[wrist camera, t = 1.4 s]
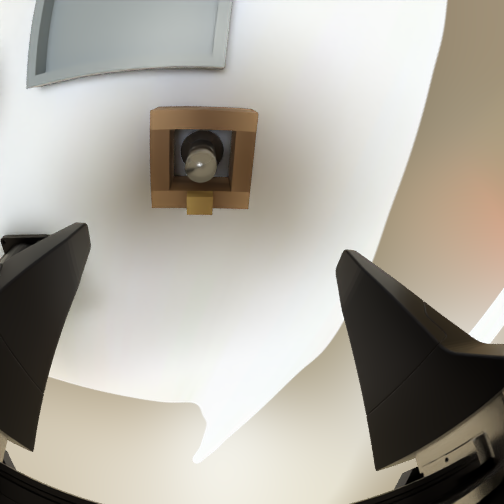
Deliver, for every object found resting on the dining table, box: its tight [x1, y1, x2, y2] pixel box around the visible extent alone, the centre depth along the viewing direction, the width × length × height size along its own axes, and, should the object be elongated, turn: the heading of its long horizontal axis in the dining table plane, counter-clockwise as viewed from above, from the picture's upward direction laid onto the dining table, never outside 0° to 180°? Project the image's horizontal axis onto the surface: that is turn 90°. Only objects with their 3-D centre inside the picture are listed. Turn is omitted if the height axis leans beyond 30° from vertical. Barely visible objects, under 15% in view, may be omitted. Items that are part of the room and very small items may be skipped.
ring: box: [150, 106, 258, 215], centre depth 17 cm, size 6×6×4 cm
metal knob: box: [181, 130, 224, 183], centre depth 17 cm, size 3×3×4 cm
